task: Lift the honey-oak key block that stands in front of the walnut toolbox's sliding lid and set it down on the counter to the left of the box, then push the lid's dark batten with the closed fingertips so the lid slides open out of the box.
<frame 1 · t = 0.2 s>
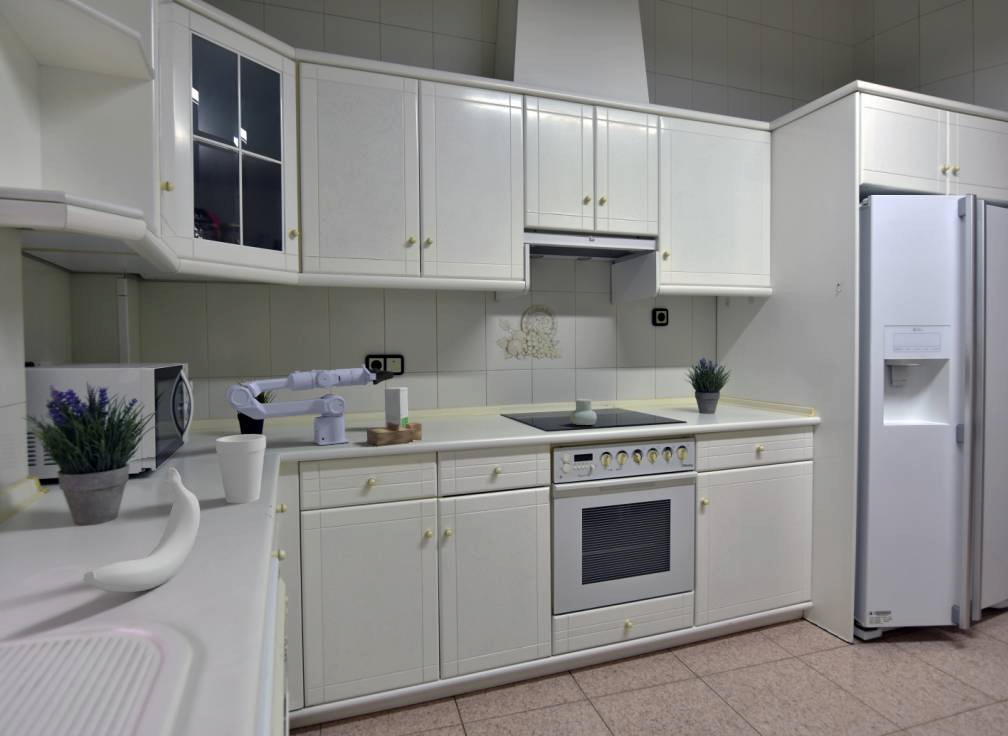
hand: (388, 374, 194), 22 cm above the counter, tool horizontal, fingers open, 7 cm apart
key: (413, 439, 188), on the counter
banana: (153, 585, 77), on the counter
skincare box: (396, 429, 211), on the counter
air freshener: (583, 425, 216), on the counter
lid: (390, 427, 183), point 5 cm above the counter, slide at 0.0 cm
toolbox: (389, 442, 183), on the counter
foam cup: (243, 500, 118), on the counter
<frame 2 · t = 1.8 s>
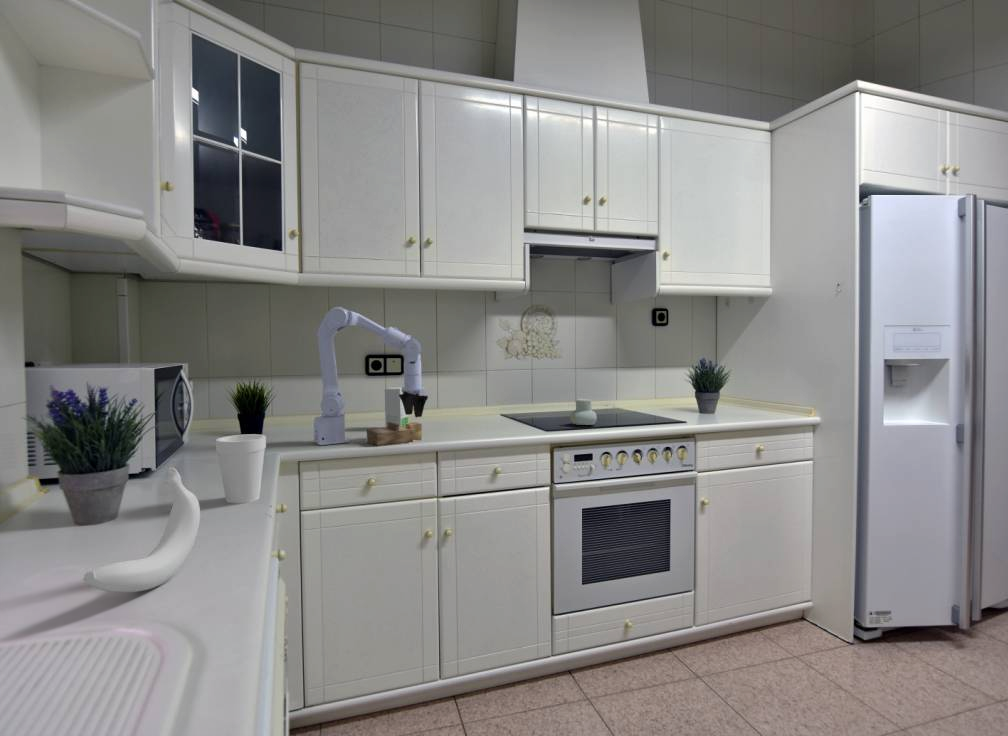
hand: (413, 415, 188), 8 cm above the counter, tool pointing down, fingers open, 7 cm apart
nothing on the counter moved.
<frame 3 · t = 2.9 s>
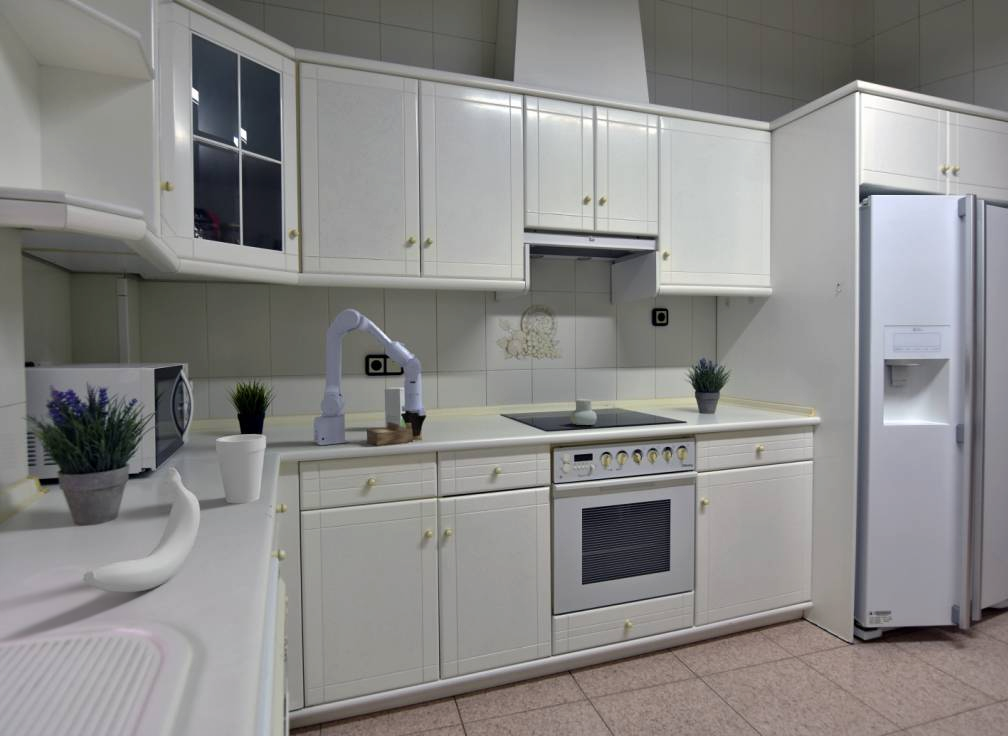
hand: (413, 434, 188), 2 cm above the counter, tool pointing down, fingers closed on key, 4 cm apart
key: (413, 439, 188), on the counter, touching gripper
everything else where it was.
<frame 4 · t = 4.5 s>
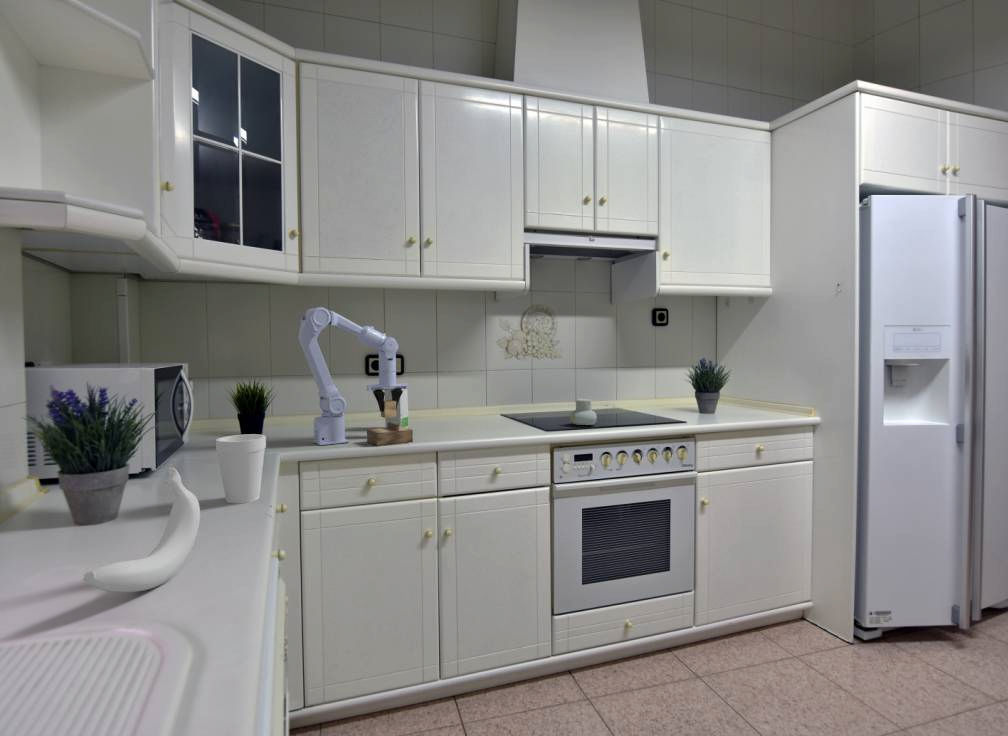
hand: (388, 410, 194), 9 cm above the counter, tool pointing down, fingers closed on key, 4 cm apart
key: (388, 416, 194), point 7 cm above the counter, touching gripper
everything else where it was.
when the fingers open (3 cm above the counter, at t = 6.0 s): key stays where it is, on the counter.
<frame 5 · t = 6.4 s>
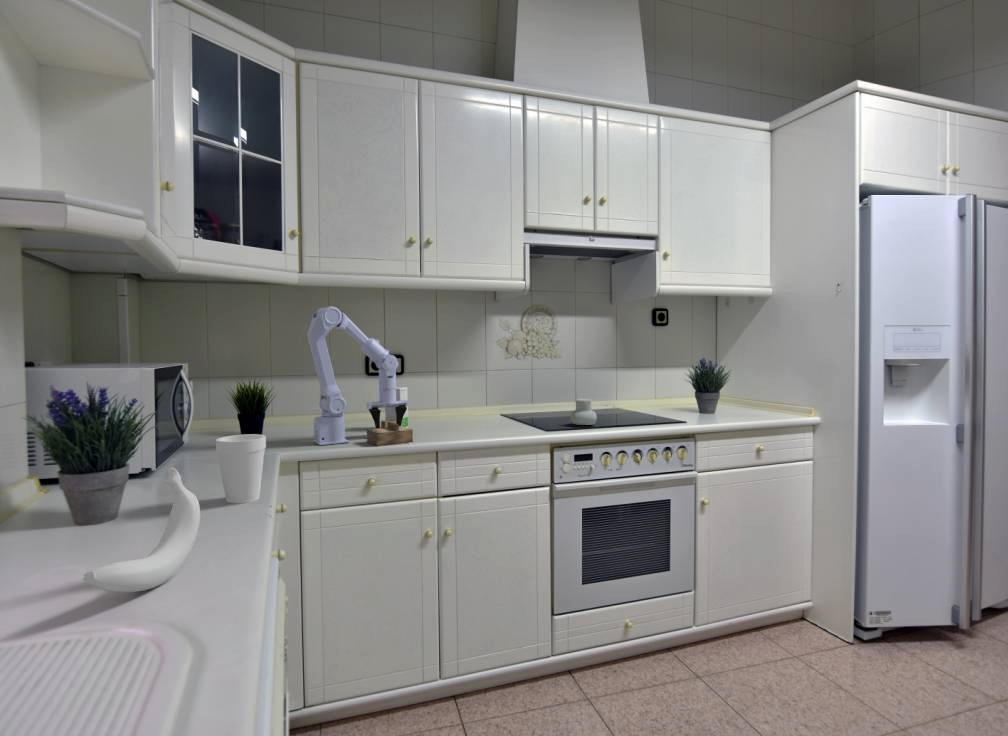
hand: (388, 428, 194), 3 cm above the counter, tool pointing down, fingers open, 7 cm apart
key: (388, 436, 194), on the counter
everything else where it was.
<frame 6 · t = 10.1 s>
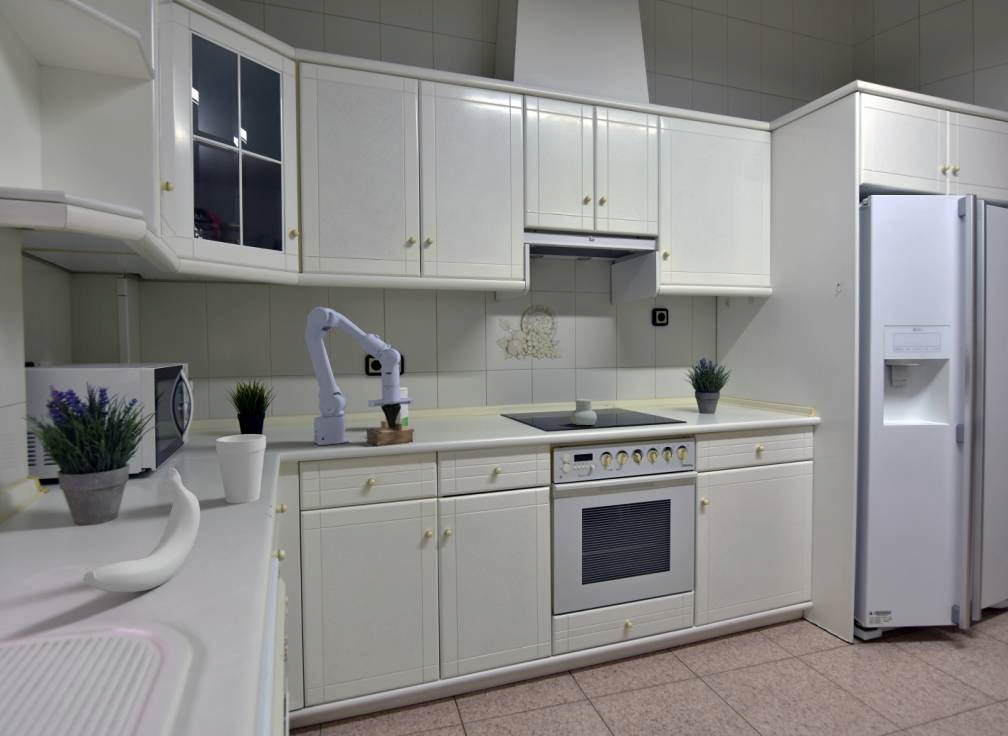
hand: (391, 427, 183), 5 cm above the counter, tool pointing down, fingers closed
lid: (393, 427, 184), point 5 cm above the counter, slide at 1.0 cm, touching gripper
everything else where it was.
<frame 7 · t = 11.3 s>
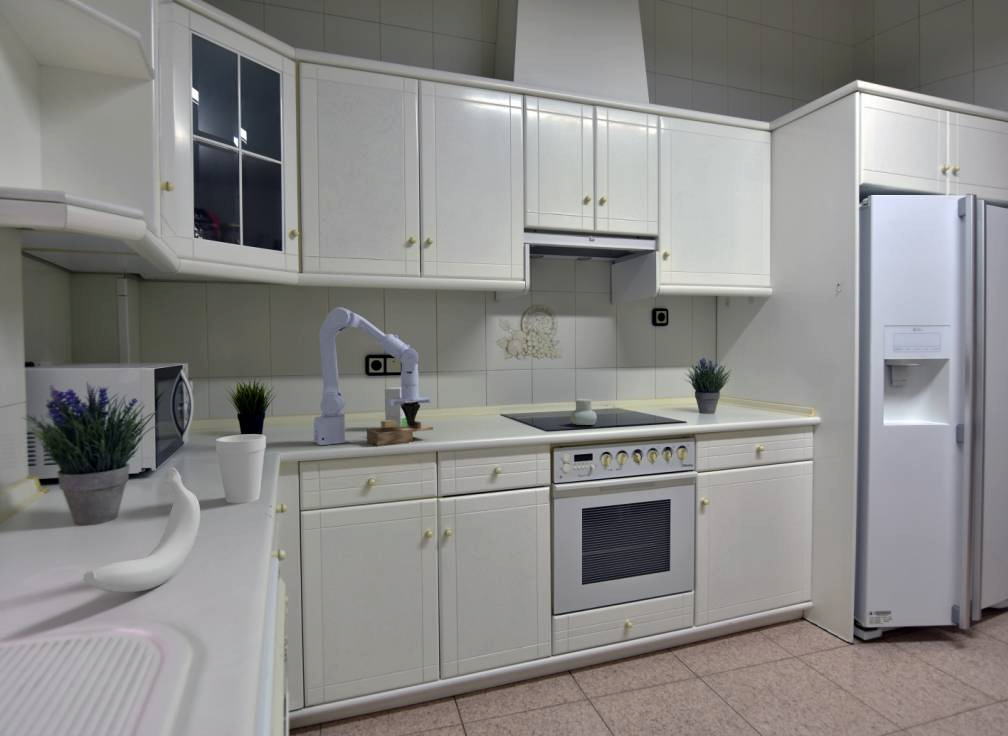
hand: (410, 425, 187), 5 cm above the counter, tool pointing down, fingers closed
lid: (412, 425, 188), point 5 cm above the counter, slide at 7.7 cm, touching gripper
everything else where it was.
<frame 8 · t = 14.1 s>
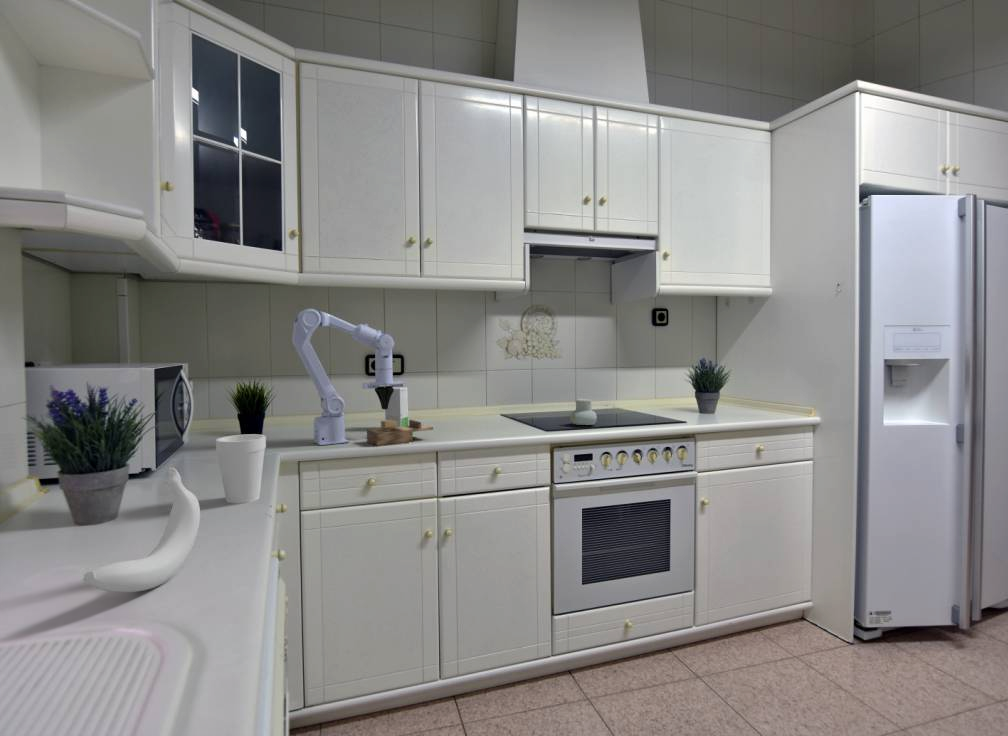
hand: (384, 409, 191), 10 cm above the counter, tool pointing down, fingers closed
lid: (412, 425, 188), point 5 cm above the counter, slide at 7.8 cm
everything else where it was.
at the end: lid slide at 7.8 cm; key inside the target area (0.2 cm from its centre), on the counter; key tilted 0° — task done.
